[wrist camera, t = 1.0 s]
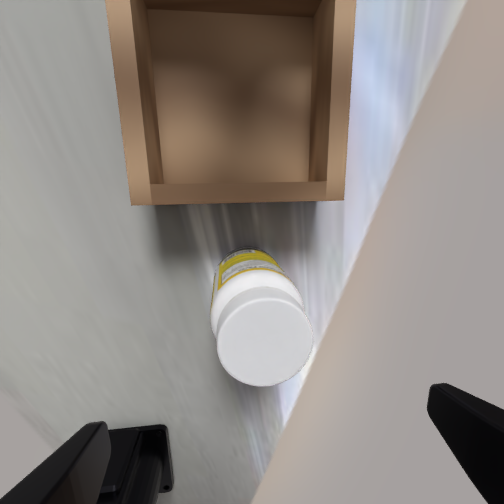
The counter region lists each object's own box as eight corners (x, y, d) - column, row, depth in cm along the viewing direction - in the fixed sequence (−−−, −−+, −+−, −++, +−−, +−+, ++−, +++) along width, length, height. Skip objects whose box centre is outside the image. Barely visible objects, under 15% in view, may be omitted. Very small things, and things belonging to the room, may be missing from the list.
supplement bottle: (260, 318, 19) (286, 411, 11) (202, 292, 18) (184, 373, 10) (291, 263, 18) (344, 319, 10) (233, 234, 17) (241, 269, 9)
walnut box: (317, 198, 17) (343, 200, 14) (153, 202, 16) (131, 205, 12) (324, 9, 15) (359, -56, 11) (131, -1, 14) (95, -77, 10)
